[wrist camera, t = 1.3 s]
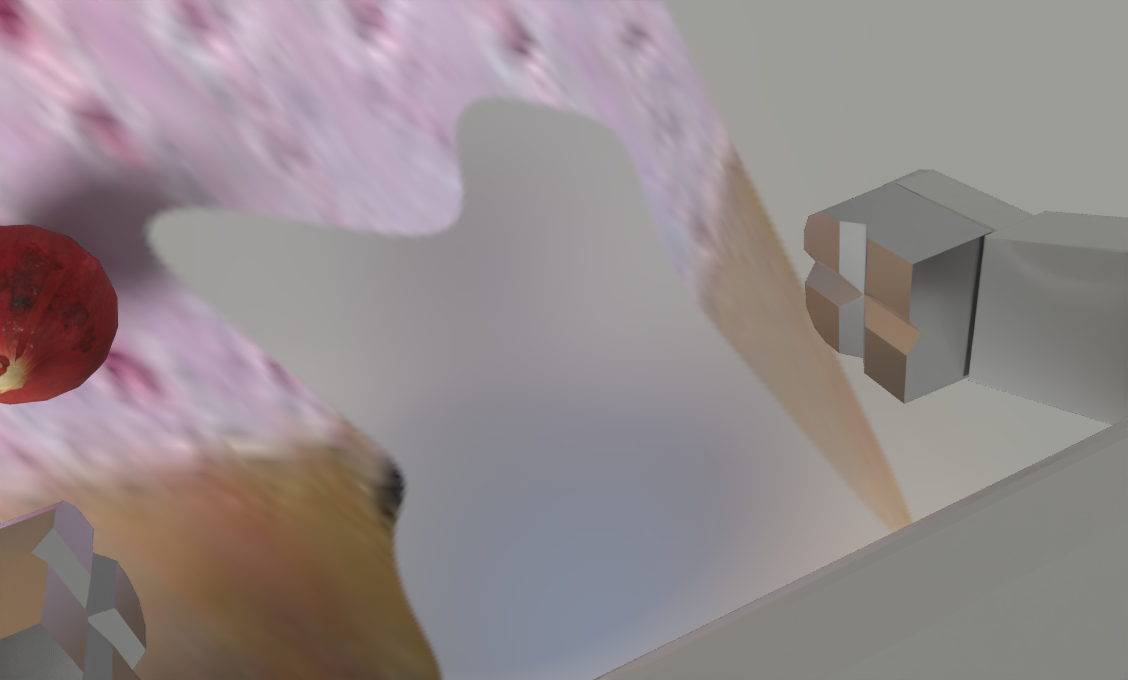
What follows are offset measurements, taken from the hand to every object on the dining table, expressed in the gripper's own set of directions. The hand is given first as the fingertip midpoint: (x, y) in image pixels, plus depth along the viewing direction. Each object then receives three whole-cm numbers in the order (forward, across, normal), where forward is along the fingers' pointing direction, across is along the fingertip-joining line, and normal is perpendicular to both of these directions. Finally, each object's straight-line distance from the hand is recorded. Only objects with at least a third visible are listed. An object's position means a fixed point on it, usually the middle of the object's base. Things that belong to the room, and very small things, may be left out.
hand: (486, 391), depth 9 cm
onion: (+27, +11, +7) cm, 30 cm away
